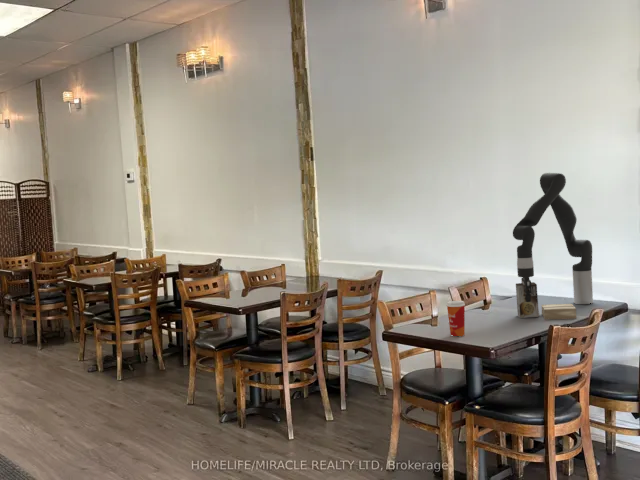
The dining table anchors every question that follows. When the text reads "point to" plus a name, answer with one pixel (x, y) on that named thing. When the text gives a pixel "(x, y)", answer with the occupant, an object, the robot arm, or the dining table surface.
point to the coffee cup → (456, 317)
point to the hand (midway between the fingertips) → (527, 300)
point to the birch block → (559, 311)
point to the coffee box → (525, 307)
